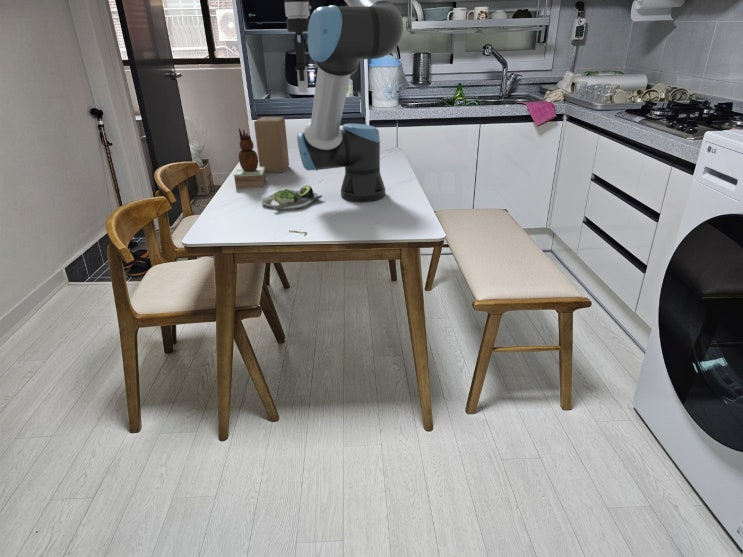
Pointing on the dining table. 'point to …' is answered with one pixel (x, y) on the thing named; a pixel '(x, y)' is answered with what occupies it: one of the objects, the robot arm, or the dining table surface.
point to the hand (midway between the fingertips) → (303, 89)
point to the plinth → (250, 178)
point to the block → (272, 143)
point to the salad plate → (291, 198)
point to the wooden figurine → (247, 153)
